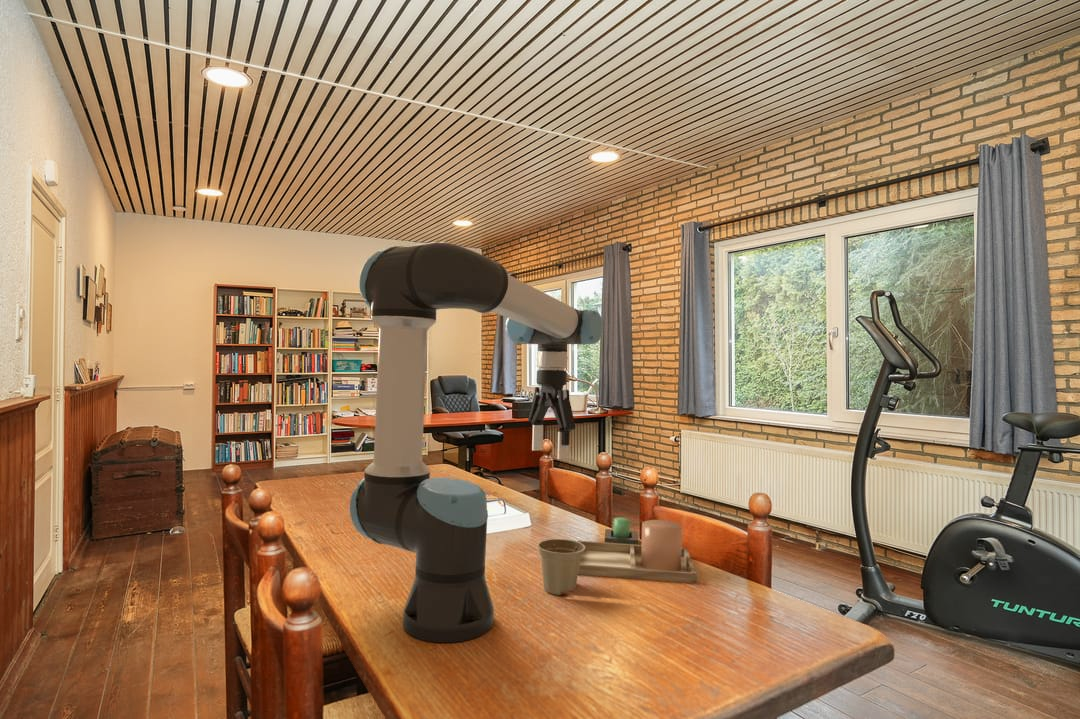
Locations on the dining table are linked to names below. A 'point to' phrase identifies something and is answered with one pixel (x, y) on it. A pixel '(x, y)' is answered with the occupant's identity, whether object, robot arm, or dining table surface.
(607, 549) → the wooden serving tray
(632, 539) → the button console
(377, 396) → the robot arm
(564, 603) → the dining table surface
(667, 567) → the taupe pillar candle
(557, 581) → the flower pot
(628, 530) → the button
